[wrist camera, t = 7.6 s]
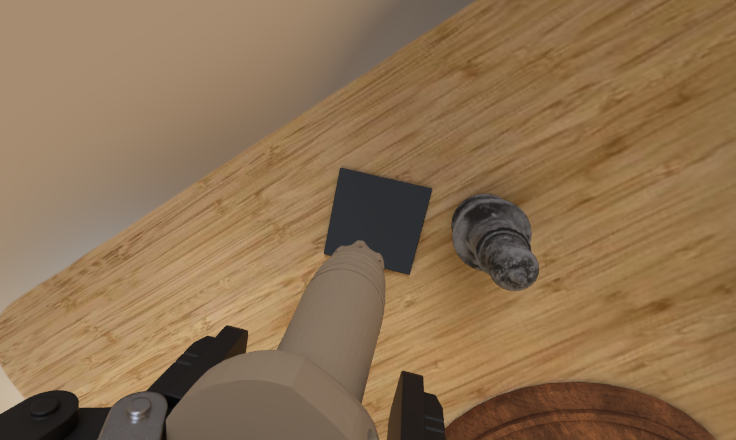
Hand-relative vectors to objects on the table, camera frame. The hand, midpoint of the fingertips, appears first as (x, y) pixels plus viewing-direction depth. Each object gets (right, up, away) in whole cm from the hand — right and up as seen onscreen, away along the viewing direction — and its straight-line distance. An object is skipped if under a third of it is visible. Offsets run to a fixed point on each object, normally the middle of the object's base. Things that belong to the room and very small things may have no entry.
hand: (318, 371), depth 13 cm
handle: (+1, +3, +10) cm, 11 cm away
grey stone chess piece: (+12, +5, +19) cm, 23 cm away
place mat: (+2, +5, +20) cm, 21 cm away
